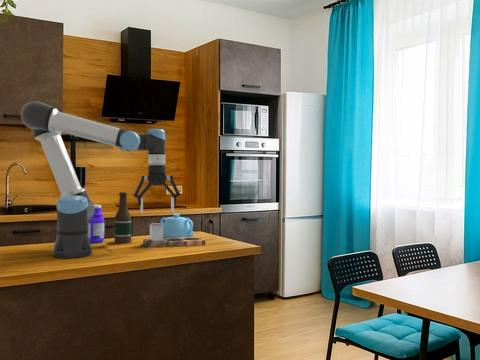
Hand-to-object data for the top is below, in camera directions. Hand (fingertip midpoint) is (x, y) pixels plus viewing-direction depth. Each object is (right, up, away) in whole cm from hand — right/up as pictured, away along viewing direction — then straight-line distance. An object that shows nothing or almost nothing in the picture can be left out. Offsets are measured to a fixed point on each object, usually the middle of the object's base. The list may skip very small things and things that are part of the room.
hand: (157, 212), depth 212 cm
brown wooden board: (+7, -16, +3) cm, 17 cm away
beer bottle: (-17, -15, +7) cm, 24 cm away
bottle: (-31, -15, +14) cm, 37 cm away
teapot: (+6, -15, +26) cm, 31 cm away
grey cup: (-1, -14, 0) cm, 14 cm away
